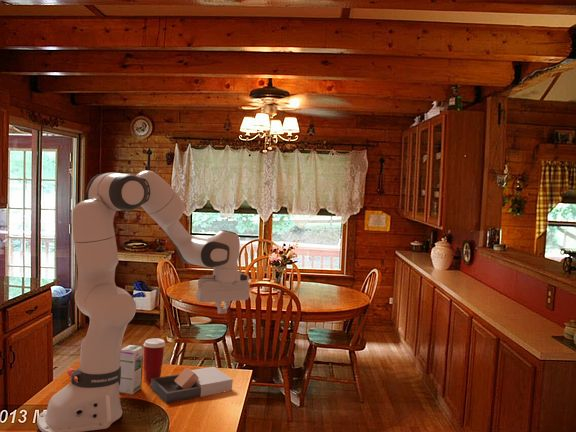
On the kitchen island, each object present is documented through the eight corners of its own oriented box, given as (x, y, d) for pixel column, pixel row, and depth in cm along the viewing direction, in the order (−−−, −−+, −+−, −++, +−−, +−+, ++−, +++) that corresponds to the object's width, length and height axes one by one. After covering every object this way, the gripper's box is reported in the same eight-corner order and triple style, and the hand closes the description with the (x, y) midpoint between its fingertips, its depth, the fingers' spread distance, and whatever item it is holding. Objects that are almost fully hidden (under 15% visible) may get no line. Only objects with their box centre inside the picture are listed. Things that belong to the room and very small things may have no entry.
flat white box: (200, 396, 156) (201, 384, 156) (183, 382, 168) (184, 371, 168) (231, 390, 164) (232, 379, 163) (213, 377, 175) (214, 366, 175)
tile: (186, 392, 157) (181, 386, 156) (178, 386, 162) (173, 380, 161) (199, 378, 160) (194, 372, 159) (191, 372, 165) (186, 367, 163)
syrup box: (132, 394, 154) (135, 351, 154) (116, 392, 155) (119, 348, 155) (141, 388, 159) (144, 346, 159) (125, 385, 161) (128, 344, 160)
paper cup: (167, 379, 169) (170, 341, 169) (151, 385, 163) (153, 345, 162) (152, 373, 173) (155, 336, 173) (135, 379, 167) (138, 340, 167)
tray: (166, 403, 149) (166, 393, 149) (150, 387, 161) (151, 378, 160) (200, 396, 156) (201, 387, 156) (183, 382, 168) (184, 373, 168)
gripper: (202, 277, 161) (199, 317, 161) (253, 276, 173) (250, 313, 173) (195, 274, 166) (191, 312, 166) (244, 273, 178) (241, 309, 178)
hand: (222, 313), depth 169 cm, fingers closed
